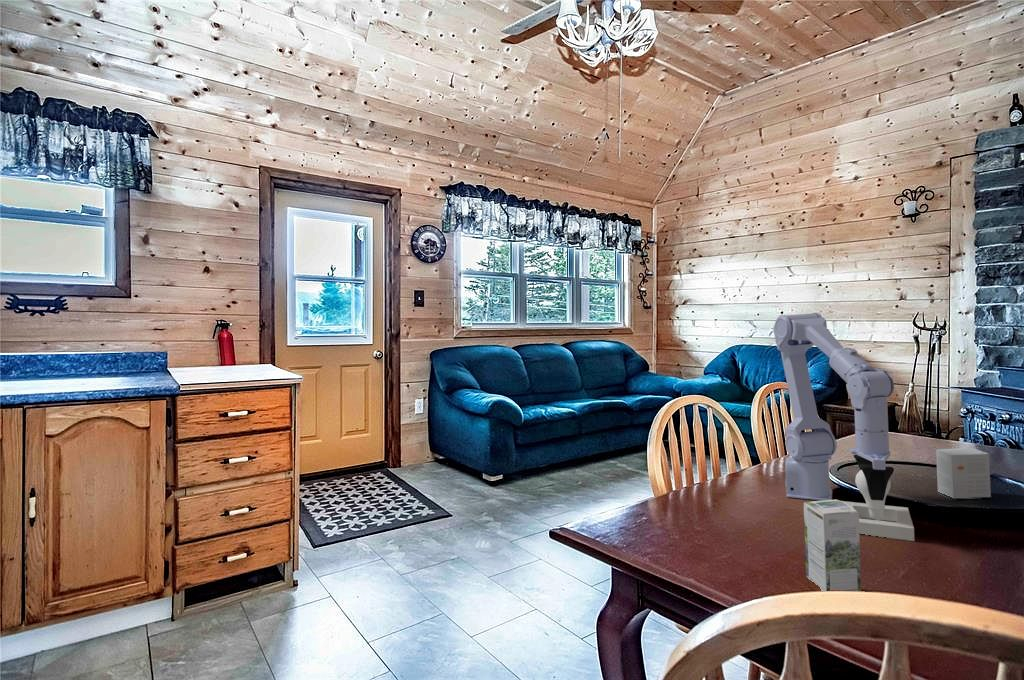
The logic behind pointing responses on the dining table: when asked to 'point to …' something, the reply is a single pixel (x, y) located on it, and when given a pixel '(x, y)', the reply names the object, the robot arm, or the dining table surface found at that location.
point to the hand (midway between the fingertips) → (873, 494)
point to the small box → (963, 472)
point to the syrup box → (832, 545)
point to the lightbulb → (874, 505)
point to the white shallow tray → (885, 522)
